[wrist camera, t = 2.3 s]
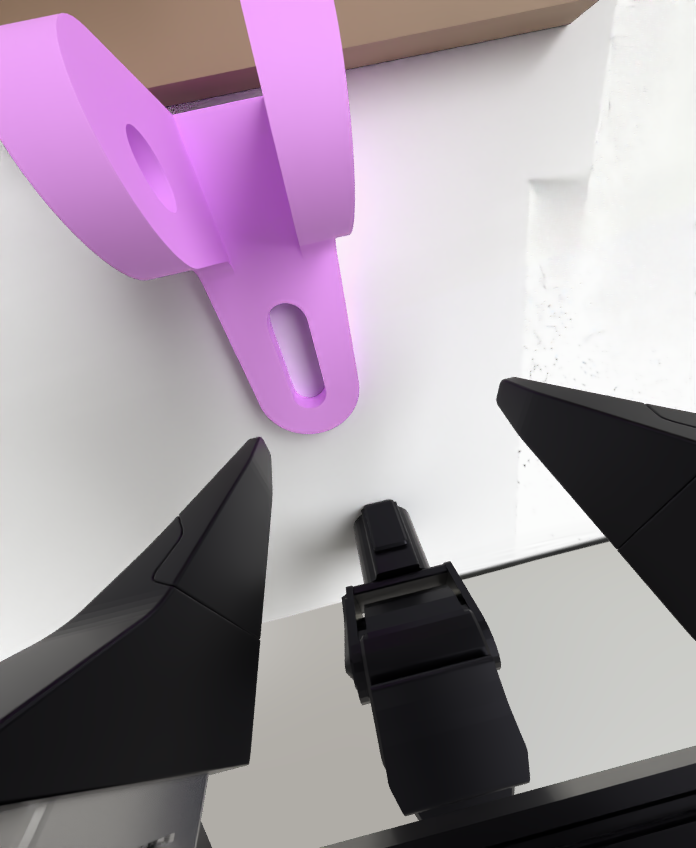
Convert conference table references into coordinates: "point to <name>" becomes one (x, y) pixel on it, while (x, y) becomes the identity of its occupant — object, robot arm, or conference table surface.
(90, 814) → the robot arm
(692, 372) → the conference table surface
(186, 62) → the board
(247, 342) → the bracket
